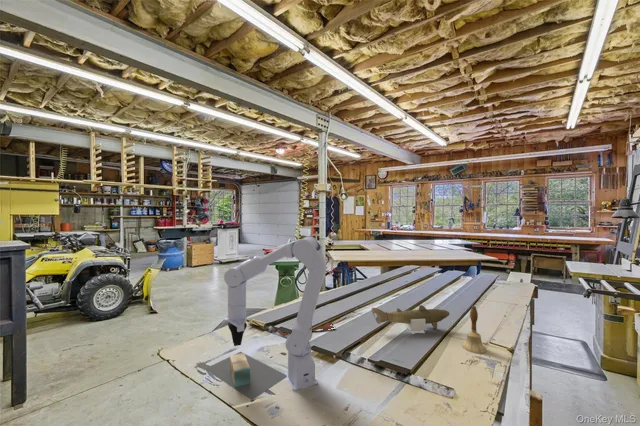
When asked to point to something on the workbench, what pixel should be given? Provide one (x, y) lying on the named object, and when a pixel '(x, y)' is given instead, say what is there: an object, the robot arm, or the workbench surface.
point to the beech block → (239, 369)
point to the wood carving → (412, 317)
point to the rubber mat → (259, 376)
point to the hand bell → (474, 336)
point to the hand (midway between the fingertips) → (237, 344)
